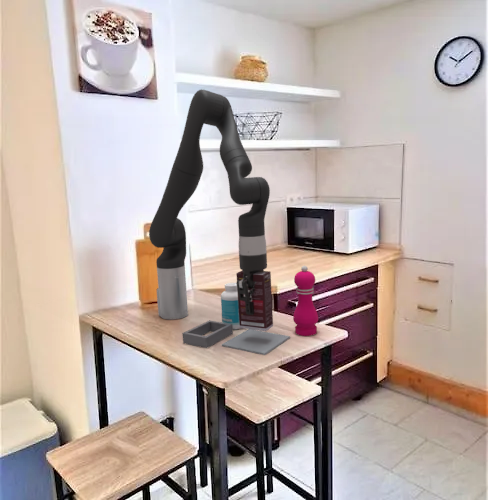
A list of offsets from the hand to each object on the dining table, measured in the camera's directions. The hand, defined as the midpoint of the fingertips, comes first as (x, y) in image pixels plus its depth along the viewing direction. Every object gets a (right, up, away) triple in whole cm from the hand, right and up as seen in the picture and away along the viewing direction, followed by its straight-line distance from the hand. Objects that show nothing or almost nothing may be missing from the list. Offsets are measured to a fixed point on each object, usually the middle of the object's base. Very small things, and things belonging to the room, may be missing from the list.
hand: (255, 311), depth 130 cm
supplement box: (0, -5, +1) cm, 5 cm away
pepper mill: (+15, -7, +7) cm, 18 cm away
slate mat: (0, -9, +1) cm, 9 cm away
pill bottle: (-6, -7, +15) cm, 18 cm away
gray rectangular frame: (-14, -9, +6) cm, 17 cm away
